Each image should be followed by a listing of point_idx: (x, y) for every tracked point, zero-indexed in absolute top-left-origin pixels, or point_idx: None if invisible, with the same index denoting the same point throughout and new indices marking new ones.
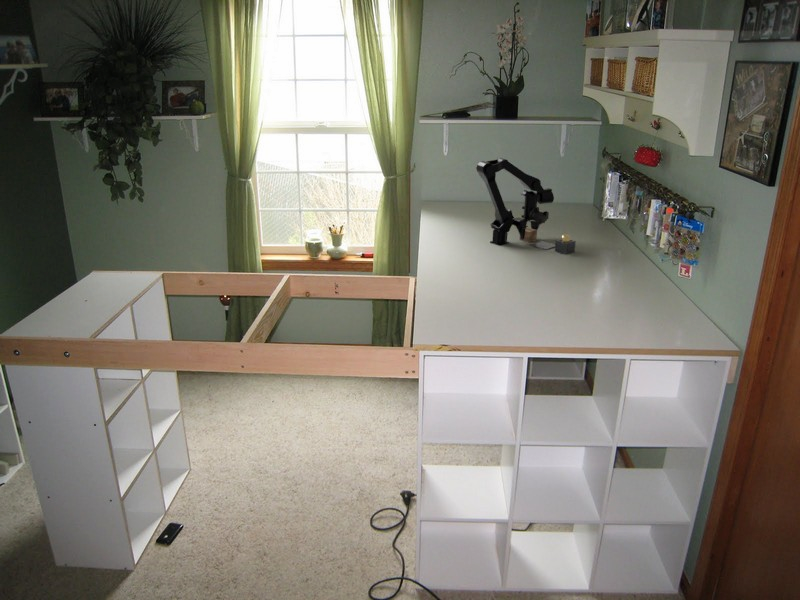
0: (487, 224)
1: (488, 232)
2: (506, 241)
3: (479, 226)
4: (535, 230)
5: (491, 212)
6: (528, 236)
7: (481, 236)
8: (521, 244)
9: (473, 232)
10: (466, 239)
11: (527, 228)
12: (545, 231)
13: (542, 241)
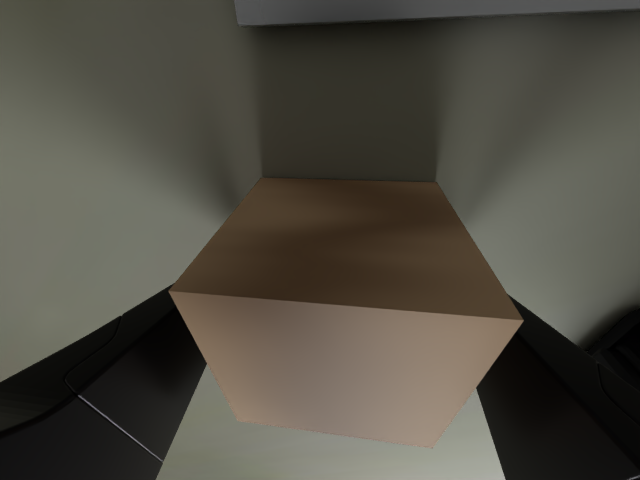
0: (275, 466)
1: (383, 448)
2: (628, 344)
3: (327, 474)
4: (239, 296)
5: (164, 476)
6: (465, 246)
7: (496, 451)
8: (609, 189)
9: (440, 474)
10: None
11: (279, 415)
12: (13, 298)
13: (253, 5)
